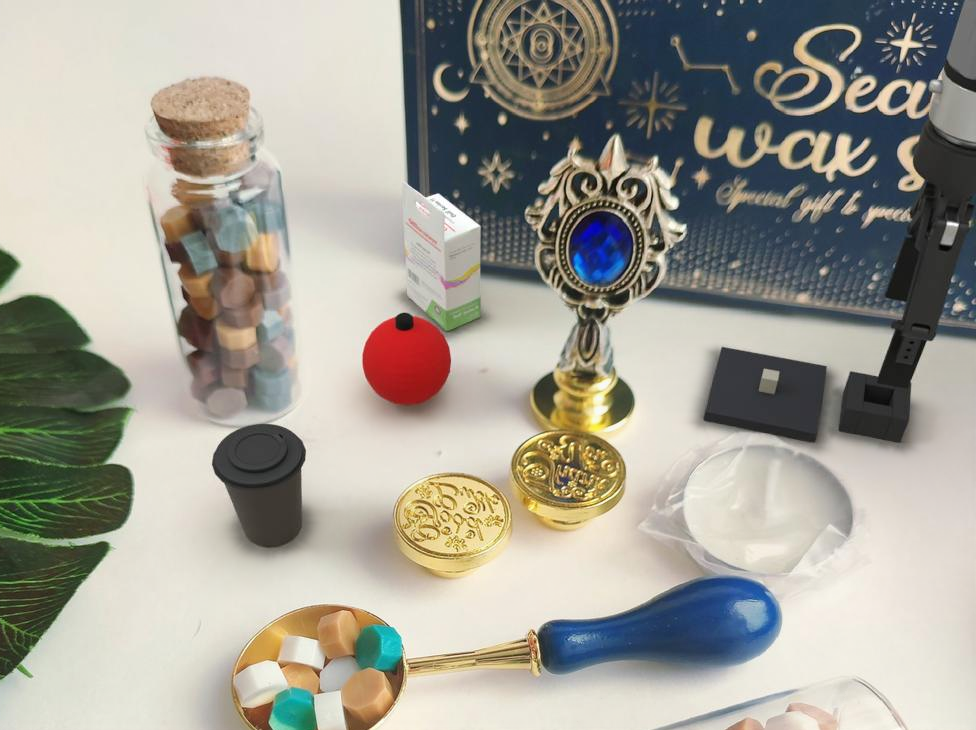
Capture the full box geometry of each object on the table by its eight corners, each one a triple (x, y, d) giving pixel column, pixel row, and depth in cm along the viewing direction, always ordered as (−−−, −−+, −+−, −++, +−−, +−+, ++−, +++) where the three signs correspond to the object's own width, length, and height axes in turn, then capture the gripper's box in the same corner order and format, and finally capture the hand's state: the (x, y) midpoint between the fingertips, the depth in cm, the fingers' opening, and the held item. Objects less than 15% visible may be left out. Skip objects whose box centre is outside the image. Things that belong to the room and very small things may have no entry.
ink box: (483, 318, 121) (484, 200, 110) (446, 333, 119) (443, 215, 108) (441, 281, 126) (437, 165, 115) (405, 295, 124) (398, 178, 113)
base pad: (719, 355, 116) (724, 332, 114) (824, 374, 114) (831, 352, 112) (703, 420, 109) (707, 397, 107) (814, 442, 107) (821, 420, 104)
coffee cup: (332, 509, 101) (321, 430, 94) (288, 570, 96) (273, 491, 89) (258, 484, 103) (242, 405, 96) (211, 542, 98) (190, 464, 91)
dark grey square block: (842, 393, 112) (850, 370, 109) (903, 404, 110) (911, 382, 108) (838, 430, 108) (845, 408, 106) (900, 443, 106) (909, 420, 104)
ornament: (377, 362, 116) (370, 284, 108) (459, 372, 115) (458, 293, 107) (356, 417, 110) (347, 339, 102) (442, 428, 109) (440, 349, 101)
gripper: (929, 55, 95) (864, 260, 111) (920, 198, 79) (845, 414, 95) (1019, 67, 94) (940, 273, 109) (1028, 216, 78) (934, 432, 93)
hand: (895, 339), depth 102 cm, fingers open, 13 cm apart
